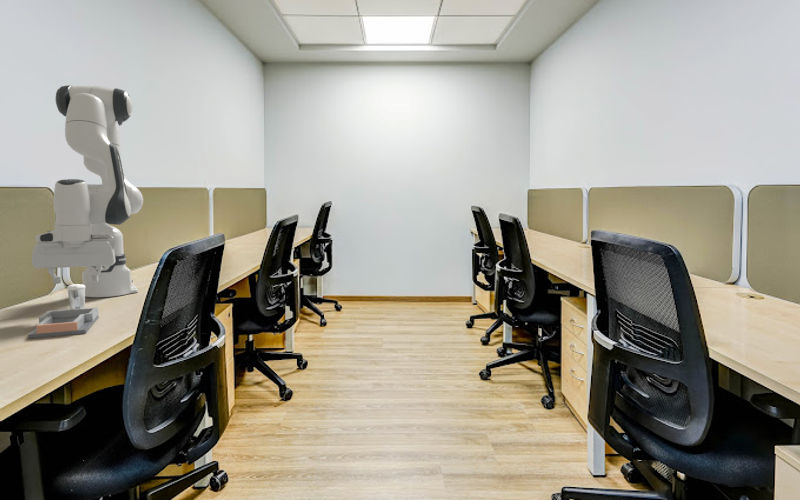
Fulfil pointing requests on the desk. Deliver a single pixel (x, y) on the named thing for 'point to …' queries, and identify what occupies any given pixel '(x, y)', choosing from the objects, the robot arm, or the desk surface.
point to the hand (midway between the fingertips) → (76, 282)
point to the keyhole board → (65, 322)
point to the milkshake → (76, 296)
